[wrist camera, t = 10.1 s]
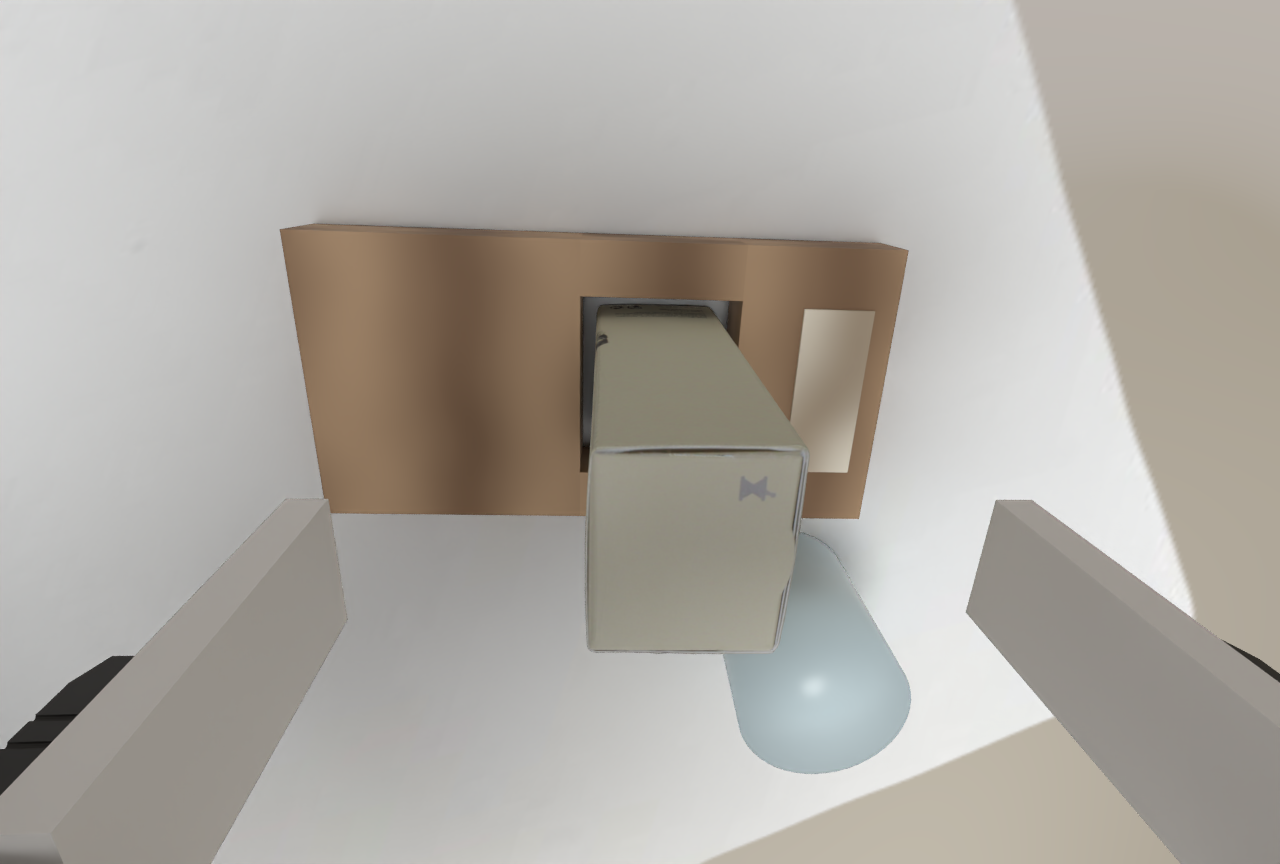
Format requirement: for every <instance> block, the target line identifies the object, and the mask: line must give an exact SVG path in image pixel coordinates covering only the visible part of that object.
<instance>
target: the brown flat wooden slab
mask: <svg viewBox="0 0 1280 864" xmlns="http://www.w3.org/2000/svg"><path fill="white" fill-rule="evenodd" d="M280 233H281V240H282V246H283V252H284V258H285V264H286V270H287V276H288V282H289V288H290V294H291V300H292V306H293V312H294V319H295V325H296V331H297V337H298V343H299V349H300V355H301V361H302V367H303V373H304V379H305V385H306V391H307V397H308V404H309V410H310V416H311V422H312V428H313V434H314V440H315V446H316V452H317V458H318V464H319V470H320V476H321V482H322V489H323V495H324V499H328V500H329V506H330V512H331V513H362V514H456V515H550V516H586V500H587V483H588V468H589V455H590V447H583V296H585V297H619V298H654V299H689V300H723V301H729V311H728V323H727V333H728V334H729V335H730V337H731V338H732V340H733V341H734V343H735V344H736V345H737V347H738V348H739V350H740V351H741V353H742V354H743V355H744V357H745V359H746V360H747V361H748V363H749V364H750V366H751V367H752V369H753V370H754V371H755V373H756V374H757V376H758V377H759V379H760V380H761V382H762V383H763V384H764V386H765V387H766V389H767V390H768V391H769V393H770V394H771V396H772V397H773V399H774V400H775V402H776V403H777V404H778V406H779V408H780V409H781V410H782V412H783V413H784V415H785V416H786V417H787V419H788V420H789V422H790V423H791V425H792V426H793V427H794V429H795V430H796V432H797V433H798V435H799V436H800V437H801V439H802V440H803V442H804V443H805V445H806V446H807V448H808V449H809V453H810V459H809V466H808V473H807V481H806V488H805V496H804V503H803V511H802V517H801V518H834V519H859V515H860V510H861V504H862V499H863V494H864V488H865V483H866V477H867V472H868V467H869V461H870V456H871V451H872V445H873V440H874V434H875V429H876V424H877V418H878V413H879V407H880V402H881V397H882V391H883V386H884V380H885V375H886V370H887V364H888V359H889V353H890V348H891V343H892V337H893V332H894V327H895V321H896V316H897V310H898V305H899V300H900V294H901V289H902V283H903V278H904V273H905V267H906V262H907V256H908V251H909V250H905V249H901V248H897V247H893V246H889V245H885V244H881V243H861V242H832V241H803V240H773V239H744V238H715V237H685V236H656V235H626V234H597V233H568V232H538V231H509V230H480V229H450V228H421V227H392V226H362V225H333V224H309V225H303V226H297V227H291V228H285V229H280Z"/></svg>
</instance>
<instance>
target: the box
mask: <svg viewBox="0 0 1280 864" xmlns="http://www.w3.org/2000/svg"><path fill="white" fill-rule="evenodd" d="M809 459H810V453H809V449H808V448H807V446H806V445H805V443H804V442H803V440H802V439H801V437H800V436H799V435H798V433H797V432H796V430H795V429H794V427H793V426H792V425H791V423H790V422H789V420H788V419H787V417H786V416H785V415H784V413H783V412H782V410H781V409H780V408H779V406H778V404H777V403H776V402H775V400H774V399H773V397H772V396H771V394H770V393H769V391H768V390H767V389H766V387H765V386H764V384H763V383H762V382H761V380H760V379H759V377H758V376H757V374H756V373H755V371H754V370H753V369H752V367H751V366H750V364H749V363H748V361H747V360H746V359H745V357H744V355H743V354H742V353H741V351H740V350H739V348H738V347H737V345H736V344H735V343H734V341H733V340H732V338H731V337H730V335H729V334H728V333H727V331H726V330H725V328H724V327H723V325H722V324H721V322H720V321H719V319H718V318H717V316H716V315H715V314H714V312H713V311H712V309H711V308H709V307H696V306H673V305H602V306H600V307H599V308H598V312H597V322H596V344H595V364H594V388H593V409H592V426H591V440H590V455H589V468H588V483H587V500H586V531H585V610H586V635H587V647H588V649H589V650H590V651H592V652H596V653H603V652H634V653H658V654H660V653H683V654H770V653H773V652H774V651H775V650H776V649H777V647H778V645H779V643H780V639H781V634H782V629H783V625H784V620H785V615H786V609H787V603H788V598H789V592H790V587H791V582H792V577H793V571H794V565H795V559H796V552H797V544H798V537H799V531H800V524H801V517H802V511H803V503H804V496H805V488H806V481H807V473H808V466H809Z"/></svg>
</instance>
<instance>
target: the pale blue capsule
mask: <svg viewBox="0 0 1280 864" xmlns="http://www.w3.org/2000/svg"><path fill="white" fill-rule="evenodd" d="M723 656H724V661H725V665H726V670H727V674H728V679H729V683H730V688H731V692H732V697H733V701H734V706H735V710H736V715H737V719H738V724H739V728H740V732H741V734H742V737H743V739H744V741H745V742H746V744H747V746H748V747H749V748H750V749H751V750H752V752H753V753H755V754H756V755H757V756H758V757H759V758H761V759H762V760H764V761H765V762H767V763H768V764H771V765H773V766H775V767H777V768H780V769H783V770H786V771H791V772H795V773H804V774H820V773H829V772H835V771H839V770H843V769H847V768H850V767H852V766H855V765H858V764H860V763H862V762H864V761H866V760H868V759H870V758H871V757H873V756H874V755H876V754H877V753H879V752H880V751H881V750H883V749H884V748H885V747H886V746H887V745H888V744H889V743H890V742H892V740H893V739H894V738H895V737H896V736H897V734H898V733H899V732H900V730H901V728H902V727H903V725H904V723H905V721H906V719H907V717H908V713H909V709H910V703H911V692H910V687H909V683H908V680H907V678H906V676H905V674H904V672H903V670H902V668H901V667H900V665H899V663H898V661H897V660H896V658H895V656H894V655H893V653H892V651H891V649H890V648H889V646H888V644H887V642H886V641H885V639H884V637H883V635H882V634H881V632H880V630H879V629H878V627H877V625H876V623H875V622H874V620H873V618H872V616H871V615H870V613H869V611H868V610H867V608H866V606H865V604H864V603H863V601H862V599H861V597H860V596H859V594H858V592H857V591H856V589H855V587H854V585H853V584H852V582H851V580H850V578H849V577H848V575H847V573H846V571H845V570H844V568H843V566H842V565H841V563H840V561H839V559H838V558H837V556H836V555H835V553H834V552H833V551H832V550H831V549H830V548H829V547H828V546H827V545H826V544H824V543H823V542H822V541H820V540H818V539H817V538H814V537H812V536H810V535H807V534H803V533H799V537H798V544H797V552H796V559H795V565H794V571H793V577H792V582H791V587H790V592H789V598H788V603H787V609H786V615H785V620H784V625H783V629H782V634H781V639H780V643H779V645H778V647H777V649H776V650H775V651H774V652H773V653H770V654H723Z"/></svg>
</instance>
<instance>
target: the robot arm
mask: <svg viewBox="0 0 1280 864" xmlns="http://www.w3.org/2000/svg"><path fill="white" fill-rule="evenodd" d="M966 613H967V614H968V615H969V617H970V618H971V619H972V620H973V621H974V622H975V624H976V625H977V626H978V627H979V628H980V629H981V631H982V632H983V633H984V634H985V635H986V636H987V638H988V639H989V640H990V641H991V642H992V643H993V645H994V646H995V647H996V648H997V649H998V651H999V652H1000V653H1001V654H1002V655H1003V656H1004V658H1005V659H1006V660H1007V661H1008V662H1009V663H1010V665H1011V666H1012V667H1013V668H1014V669H1015V670H1016V672H1017V673H1018V674H1019V675H1020V676H1021V677H1022V679H1023V680H1024V681H1025V682H1026V683H1027V684H1028V686H1029V687H1030V688H1031V689H1032V690H1033V691H1034V693H1035V694H1036V695H1037V696H1038V697H1039V699H1040V700H1041V701H1042V702H1043V703H1044V704H1045V706H1046V707H1047V708H1048V709H1049V710H1050V711H1051V713H1052V714H1053V715H1054V716H1055V717H1056V718H1057V720H1058V721H1059V722H1060V723H1061V724H1062V725H1063V727H1064V728H1065V729H1066V730H1067V731H1068V732H1069V734H1070V735H1071V736H1072V737H1073V738H1074V739H1075V740H1076V742H1077V743H1078V744H1079V745H1080V746H1081V748H1082V749H1083V750H1084V751H1085V752H1086V754H1087V755H1088V756H1089V757H1090V758H1091V759H1092V761H1093V762H1094V763H1095V764H1096V765H1097V766H1098V768H1100V770H1101V771H1102V772H1103V773H1104V775H1105V776H1106V777H1107V778H1108V779H1109V780H1110V781H1111V783H1112V784H1113V785H1114V786H1115V787H1116V788H1117V790H1118V791H1119V792H1120V793H1121V794H1122V796H1123V797H1124V798H1125V799H1126V800H1127V802H1128V803H1129V804H1130V805H1131V806H1132V807H1133V808H1134V810H1135V811H1136V812H1137V813H1138V814H1139V816H1140V817H1141V818H1142V819H1143V820H1144V821H1145V823H1146V824H1147V825H1148V826H1149V827H1150V828H1151V830H1152V831H1153V832H1154V833H1155V834H1156V835H1157V837H1159V839H1160V840H1161V841H1162V842H1163V844H1164V845H1165V846H1166V847H1167V848H1168V849H1169V851H1170V852H1171V853H1172V854H1173V855H1174V857H1175V858H1176V859H1177V860H1178V861H1179V862H1180V863H1181V864H1280V674H1279V673H1278V672H1276V671H1275V670H1273V669H1272V668H1271V667H1269V666H1268V665H1267V664H1265V663H1264V662H1263V661H1261V660H1260V659H1258V658H1256V657H1254V656H1252V655H1250V654H1248V653H1247V652H1245V651H1243V650H1241V649H1239V648H1237V647H1235V646H1233V645H1231V644H1229V643H1227V642H1225V641H1223V640H1221V639H1220V638H1218V637H1217V636H1216V635H1214V634H1213V633H1211V632H1210V631H1209V630H1207V629H1206V628H1205V627H1203V626H1202V625H1201V624H1199V623H1198V622H1196V621H1195V620H1194V619H1193V618H1191V617H1190V616H1188V615H1187V614H1186V613H1184V612H1183V611H1182V610H1180V609H1179V608H1178V607H1176V606H1175V605H1174V604H1172V603H1171V602H1169V601H1168V600H1167V599H1165V598H1164V597H1163V596H1161V595H1160V594H1159V593H1157V592H1156V591H1155V590H1153V589H1152V588H1150V587H1149V586H1148V585H1146V584H1145V583H1144V582H1142V581H1141V580H1140V579H1138V578H1137V577H1136V576H1134V575H1133V574H1131V573H1130V572H1129V571H1127V570H1126V569H1125V568H1123V567H1122V566H1121V565H1119V564H1118V563H1117V562H1115V561H1114V560H1112V559H1111V558H1110V557H1108V556H1107V555H1106V554H1104V553H1103V552H1102V551H1100V550H1099V549H1098V548H1096V547H1095V546H1093V545H1092V544H1091V543H1089V542H1088V541H1087V540H1085V539H1084V538H1083V537H1081V536H1080V535H1079V534H1077V533H1076V532H1074V531H1073V530H1072V529H1070V528H1069V527H1068V526H1066V525H1065V524H1064V523H1062V522H1061V521H1060V520H1058V519H1057V518H1055V517H1054V516H1053V515H1051V514H1050V513H1049V512H1047V511H1046V510H1045V509H1043V508H1042V507H1041V506H1039V505H1038V504H1036V503H1035V502H1034V501H1032V500H996V501H995V505H994V509H993V513H992V516H991V520H990V524H989V528H988V531H987V535H986V539H985V543H984V546H983V550H982V554H981V558H980V561H979V565H978V569H977V572H976V576H975V580H974V584H973V587H972V591H971V595H970V599H969V602H968V606H967V610H966ZM347 620H348V619H347V613H346V607H345V601H344V594H343V588H342V582H341V575H340V569H339V563H338V556H337V550H336V544H335V538H334V531H333V525H332V519H331V512H330V506H329V500H328V499H285V500H284V501H283V503H282V504H281V505H280V506H279V507H278V508H277V509H276V510H275V511H274V512H273V513H272V514H271V515H270V516H269V517H268V518H267V519H266V520H265V521H264V522H263V523H262V524H261V525H260V526H259V527H258V528H257V530H256V531H255V532H254V533H253V534H252V535H251V536H250V537H249V538H248V539H247V540H246V541H245V542H244V543H243V544H242V545H241V546H240V547H239V548H238V549H237V550H236V551H235V552H234V553H233V554H232V555H231V557H230V558H229V559H228V560H227V561H226V562H225V563H224V564H223V565H222V566H221V567H220V568H219V569H218V570H217V571H216V572H215V573H214V574H213V575H212V576H211V577H210V578H209V579H208V580H207V581H206V583H205V584H204V585H203V586H202V587H201V588H200V589H199V590H198V591H197V592H196V593H195V594H194V595H193V596H192V597H191V598H190V599H189V600H188V601H187V602H186V603H185V604H184V605H183V606H182V607H181V608H180V610H179V611H178V612H177V613H176V614H175V615H174V616H173V617H172V618H171V619H170V620H169V621H168V622H167V623H166V624H165V625H164V626H163V627H162V628H161V629H160V630H159V631H158V632H157V633H156V634H155V635H154V637H153V638H152V639H151V640H150V641H149V642H148V643H147V644H146V645H145V646H144V647H143V648H142V649H141V650H140V651H139V652H138V653H137V654H136V655H135V656H112V657H110V658H108V659H107V660H105V661H104V662H102V663H100V664H99V665H97V666H96V667H94V668H92V669H91V670H89V671H88V672H86V673H84V674H83V675H81V676H80V677H78V678H76V679H75V680H73V681H71V682H70V683H68V684H67V685H66V686H65V687H64V688H63V689H62V690H61V691H60V692H59V693H58V694H57V695H56V696H55V697H54V698H53V699H52V700H51V701H50V702H49V703H48V704H47V705H46V706H44V707H43V708H42V709H41V710H40V711H39V712H38V713H37V714H36V718H35V720H34V721H29V722H28V723H27V724H26V725H25V726H24V727H23V728H22V729H21V730H20V731H18V732H17V733H16V734H15V735H14V736H13V737H12V738H11V739H10V740H9V741H8V742H7V747H6V748H5V749H0V864H211V862H212V861H213V859H214V857H215V855H216V854H217V852H218V850H219V848H220V846H221V845H222V843H223V841H224V839H225V837H226V836H227V834H228V832H229V830H230V829H231V827H232V825H233V823H234V821H235V820H236V818H237V816H238V814H239V812H240V811H241V809H242V807H243V805H244V804H245V802H246V800H247V798H248V796H249V795H250V793H251V791H252V789H253V787H254V786H255V784H256V782H257V780H258V779H259V777H260V775H261V773H262V771H263V770H264V768H265V766H266V764H267V762H268V761H269V759H270V757H271V755H272V754H273V752H274V750H275V748H276V746H277V745H278V743H279V741H280V739H281V737H282V736H283V734H284V732H285V730H286V729H287V727H288V725H289V723H290V721H291V720H292V718H293V716H294V714H295V712H296V711H297V709H298V707H299V705H300V704H301V702H302V700H303V698H304V696H305V695H306V693H307V691H308V689H309V687H310V686H311V684H312V682H313V680H314V679H315V677H316V675H317V673H318V671H319V670H320V668H321V666H322V664H323V662H324V661H325V659H326V657H327V655H328V654H329V652H330V650H331V648H332V646H333V645H334V643H335V641H336V639H337V637H338V636H339V634H340V632H341V630H342V629H343V627H344V625H345V623H346V621H347Z"/></svg>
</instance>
